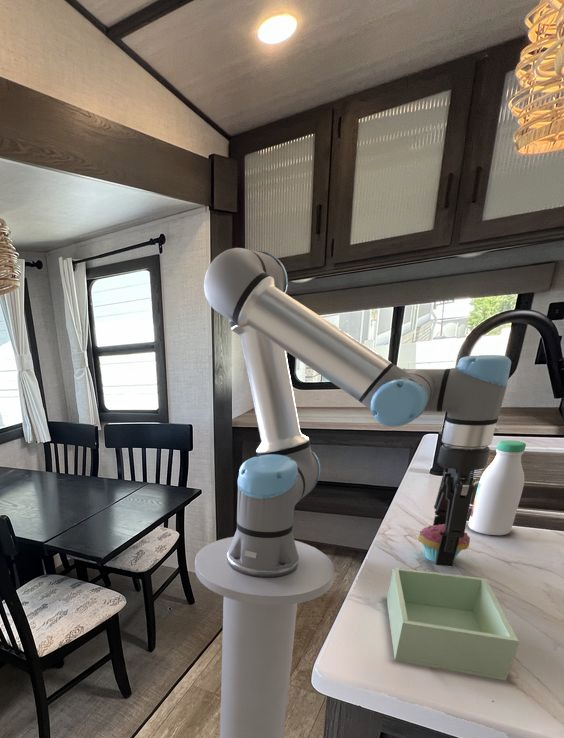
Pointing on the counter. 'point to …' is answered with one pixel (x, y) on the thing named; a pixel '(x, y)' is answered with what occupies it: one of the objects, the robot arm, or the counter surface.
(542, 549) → the counter surface
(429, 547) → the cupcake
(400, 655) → the tub
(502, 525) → the milk bottle
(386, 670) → the counter surface
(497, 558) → the counter surface
